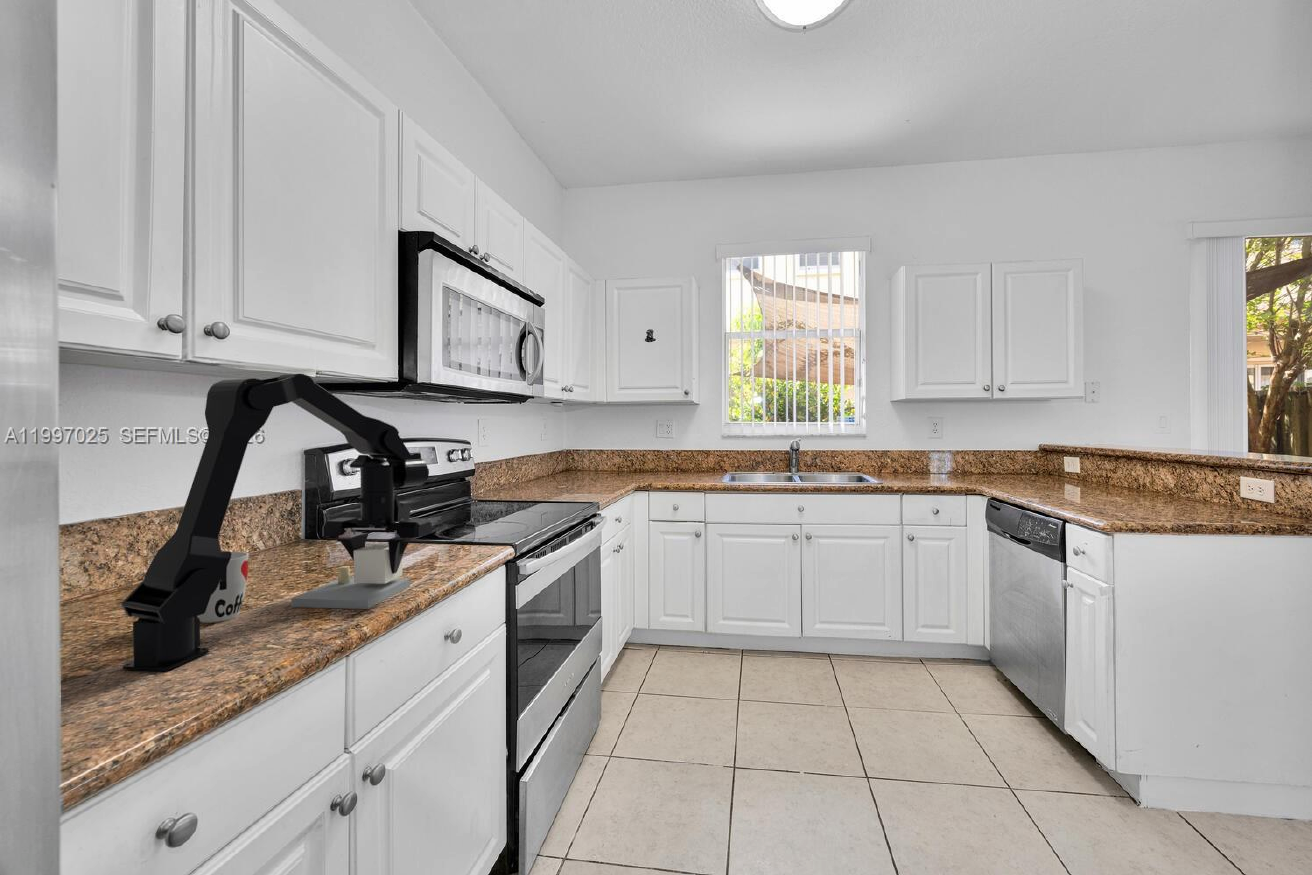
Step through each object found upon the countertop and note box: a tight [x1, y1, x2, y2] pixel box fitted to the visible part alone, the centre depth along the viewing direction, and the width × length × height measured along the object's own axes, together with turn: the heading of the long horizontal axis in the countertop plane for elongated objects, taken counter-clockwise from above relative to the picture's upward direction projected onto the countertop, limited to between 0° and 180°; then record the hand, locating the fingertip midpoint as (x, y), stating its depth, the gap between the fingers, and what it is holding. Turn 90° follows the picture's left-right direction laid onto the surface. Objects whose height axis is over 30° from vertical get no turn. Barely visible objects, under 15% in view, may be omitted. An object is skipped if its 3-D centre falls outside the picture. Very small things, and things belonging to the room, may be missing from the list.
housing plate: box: [290, 565, 411, 610], centre depth 106 cm, size 14×14×4 cm
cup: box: [198, 551, 250, 624], centre depth 94 cm, size 8×8×10 cm
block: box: [353, 543, 403, 584], centre depth 108 cm, size 6×6×6 cm
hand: (378, 572), depth 108 cm, fingers closed on block, 6 cm apart
